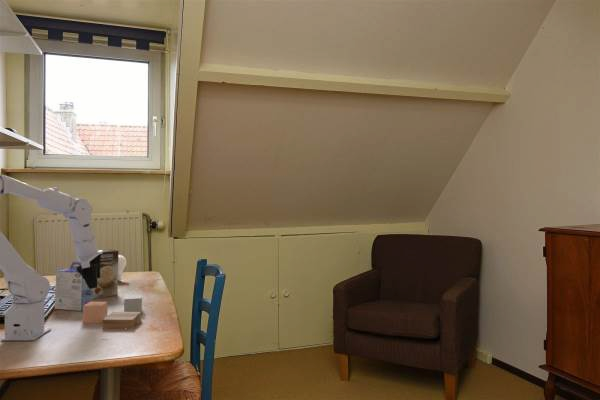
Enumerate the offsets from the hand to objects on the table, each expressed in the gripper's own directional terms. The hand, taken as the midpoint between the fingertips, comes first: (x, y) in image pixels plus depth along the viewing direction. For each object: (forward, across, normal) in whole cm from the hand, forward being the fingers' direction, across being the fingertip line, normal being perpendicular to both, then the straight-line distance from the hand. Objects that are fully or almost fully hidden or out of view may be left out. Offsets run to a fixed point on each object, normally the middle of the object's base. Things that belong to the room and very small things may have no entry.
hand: (94, 282), depth 135 cm
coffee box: (+15, +29, +4) cm, 33 cm away
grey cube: (+13, +2, -8) cm, 16 cm away
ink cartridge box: (+11, +12, +10) cm, 19 cm away
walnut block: (+11, -10, -6) cm, 16 cm away
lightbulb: (+20, +54, +1) cm, 58 cm away
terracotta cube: (+10, -4, +2) cm, 11 cm away
